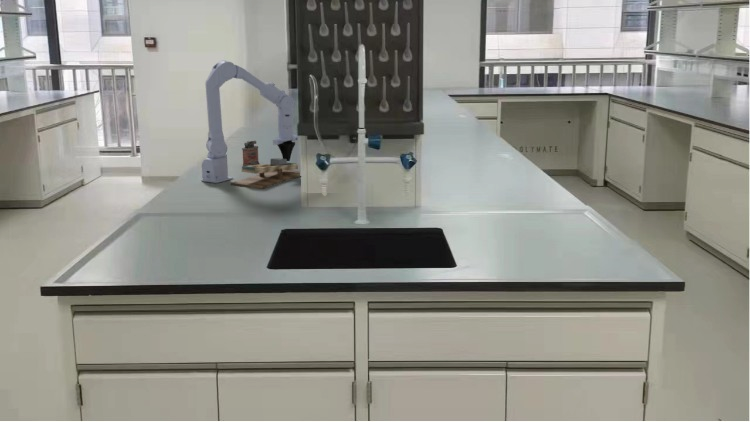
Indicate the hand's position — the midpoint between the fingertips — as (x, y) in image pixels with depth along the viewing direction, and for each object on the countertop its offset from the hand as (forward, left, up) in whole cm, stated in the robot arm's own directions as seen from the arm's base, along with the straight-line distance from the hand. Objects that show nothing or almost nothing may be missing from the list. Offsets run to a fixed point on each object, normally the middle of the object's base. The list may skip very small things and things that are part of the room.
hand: (286, 160), depth 279 cm
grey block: (-5, 0, -1) cm, 6 cm away
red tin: (+10, +25, -6) cm, 27 cm away
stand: (-10, 0, -5) cm, 12 cm away
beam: (-10, 0, -1) cm, 11 cm away
